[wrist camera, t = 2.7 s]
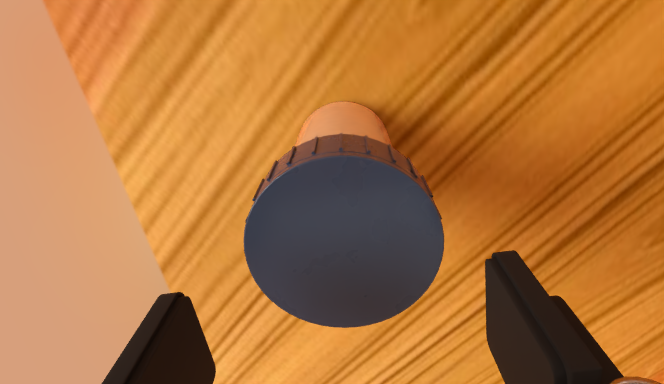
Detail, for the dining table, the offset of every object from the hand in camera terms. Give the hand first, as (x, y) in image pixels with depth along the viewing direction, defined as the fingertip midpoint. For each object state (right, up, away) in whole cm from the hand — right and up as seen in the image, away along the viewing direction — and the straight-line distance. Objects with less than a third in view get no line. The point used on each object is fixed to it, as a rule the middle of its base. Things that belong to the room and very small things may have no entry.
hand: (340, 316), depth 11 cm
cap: (0, +2, +3) cm, 3 cm away
